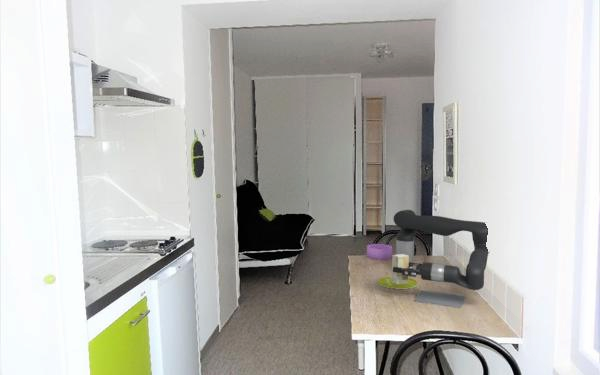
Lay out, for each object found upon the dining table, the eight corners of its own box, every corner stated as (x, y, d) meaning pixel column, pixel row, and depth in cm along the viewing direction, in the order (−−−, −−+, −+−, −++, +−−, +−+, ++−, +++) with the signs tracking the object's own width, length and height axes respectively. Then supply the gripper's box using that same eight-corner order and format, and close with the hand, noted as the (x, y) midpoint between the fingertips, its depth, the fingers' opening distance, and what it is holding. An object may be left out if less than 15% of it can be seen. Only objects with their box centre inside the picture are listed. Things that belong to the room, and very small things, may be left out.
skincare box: (397, 284, 195) (397, 257, 194) (390, 282, 199) (391, 254, 198) (408, 282, 198) (409, 255, 197) (402, 280, 202) (402, 253, 200)
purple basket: (365, 258, 270) (366, 237, 269) (367, 253, 285) (368, 232, 283) (408, 261, 264) (409, 239, 263) (408, 255, 279) (409, 234, 278)
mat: (421, 290, 208) (421, 289, 208) (464, 296, 200) (464, 295, 200) (414, 301, 194) (414, 300, 194) (460, 308, 186) (460, 307, 186)
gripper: (436, 259, 197) (399, 255, 205) (430, 267, 185) (391, 262, 192) (436, 276, 198) (398, 271, 205) (430, 285, 185) (390, 279, 192)
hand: (395, 267), depth 198 cm, fingers closed on skincare box, 7 cm apart
